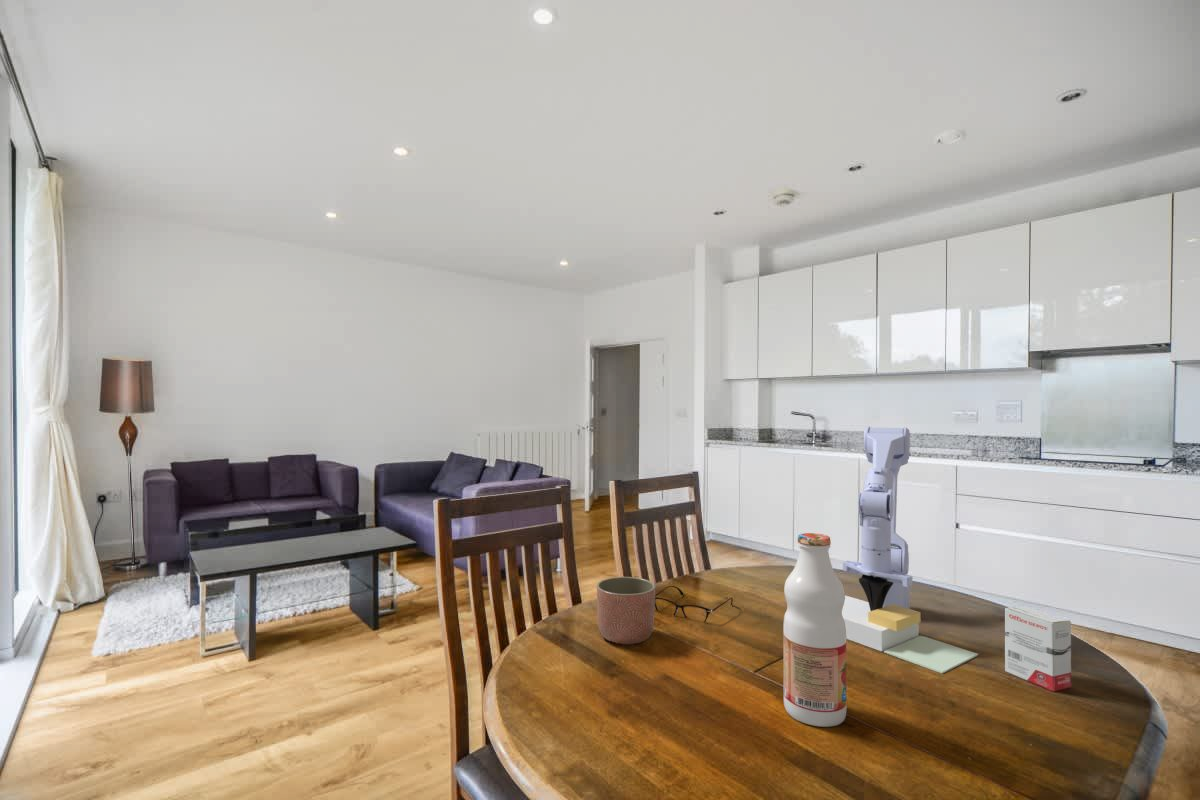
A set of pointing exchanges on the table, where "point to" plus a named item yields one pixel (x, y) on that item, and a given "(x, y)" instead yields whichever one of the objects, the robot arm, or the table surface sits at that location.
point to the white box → (872, 627)
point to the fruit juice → (814, 637)
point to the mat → (931, 654)
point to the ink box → (1038, 647)
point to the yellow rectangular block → (894, 617)
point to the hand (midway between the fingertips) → (876, 612)
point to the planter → (626, 609)
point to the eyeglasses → (688, 605)
